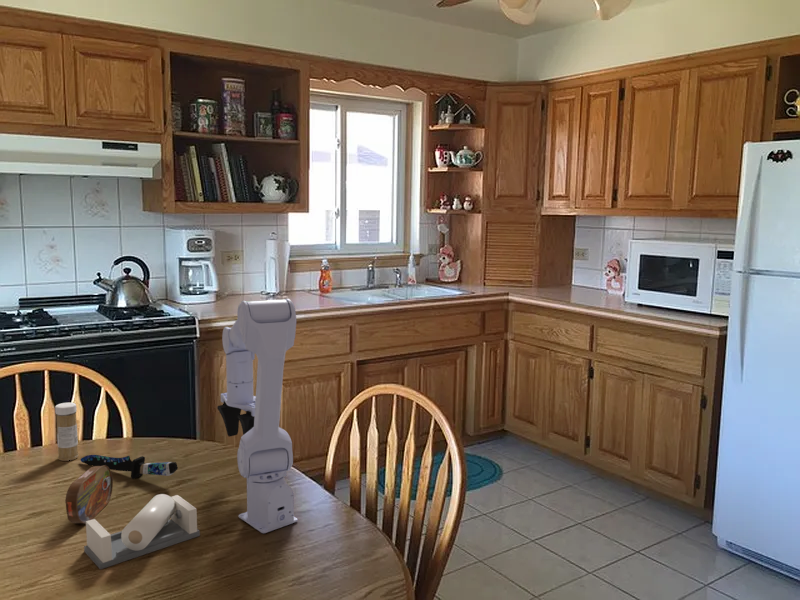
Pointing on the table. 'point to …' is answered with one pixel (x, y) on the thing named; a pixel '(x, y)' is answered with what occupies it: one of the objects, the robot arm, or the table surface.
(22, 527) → the table surface
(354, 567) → the table surface
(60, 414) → the sprinkles bottle
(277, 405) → the robot arm
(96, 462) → the knife
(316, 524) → the table surface
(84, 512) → the tin
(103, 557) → the holder
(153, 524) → the cylinder
